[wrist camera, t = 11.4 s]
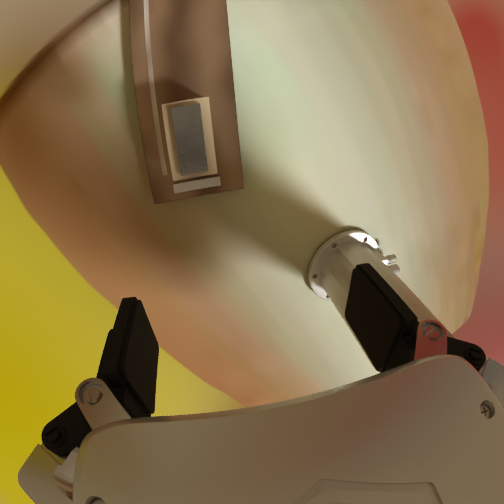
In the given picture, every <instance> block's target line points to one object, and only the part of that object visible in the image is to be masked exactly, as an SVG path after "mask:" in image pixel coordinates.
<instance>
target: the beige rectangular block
mask: <svg viewBox="0 0 504 504" xmlns="http://www.w3.org/2000/svg"><path fill="white" fill-rule="evenodd" d="M162 113H163V120H164V127H165V134H166V141H167V147H168V153H169V160H170V166H171V171H172V177H173V181H177V180H182V179H188V178H193V177H199V176H205V175H211V174H218V173H217V164H216V156H215V148H214V139H213V130H212V121H211V112H210V103H209V97H203V98H196V99H189V100H183V101H177V102H172V103H167V104H162Z"/></svg>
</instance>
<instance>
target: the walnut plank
mask: <svg viewBox="0 0 504 504" xmlns="http://www.w3.org/2000/svg"><path fill="white" fill-rule="evenodd" d="M129 13H130V38H131V53H132V66H133V76H134V85H135V94H136V102H137V109H138V116H139V123H140V130H141V136H142V142H143V148H144V153H145V159H146V164H147V169H148V174H149V179H150V184H151V189H152V193H153V198H154V202H155V204H157V203H162V202H167V201H172V200H177V199H183V198H188V197H194V196H200V195H205V194H211V193H217V192H224V191H230V190H237V189H243V178H242V167H241V156H240V146H239V135H238V124H237V114H236V103H235V92H234V81H233V70H232V59H231V48H230V37H229V26H228V15H227V4H226V0H129ZM203 97H209V103H210V112H211V121H212V130H213V139H214V148H215V156H216V164H217V173H218V174H211V175H205V176H199V177H193V178H188V179H182V180H177V181H173V177H172V171H171V166H170V160H169V153H168V147H167V141H166V134H165V127H164V120H163V113H162V104H167V103H172V102H177V101H183V100H189V99H196V98H203Z"/></svg>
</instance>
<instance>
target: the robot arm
mask: <svg viewBox="0 0 504 504" xmlns="http://www.w3.org/2000/svg"><path fill="white" fill-rule="evenodd" d="M395 262H396V256H395V255H394V254H392V255H388V256H386V257H384V256H383V255H382V254H381V253H379V248H378V245H377V243H376V241H375V240H374V239H373V238H372V237H371V236H370V235H369V234H367V233H365V232H363V231H360V230H348V231H344V232H341V233H338V234H336V235H335V236H333V237H331V238H330V239H328V240H327V241H326V242H325V243H324V244H323V245H322V246H321V247H320V248H319V249H318V250H317V252H316V253H315V254H314V256H313V258H312V260H311V262H310V265H309V269H308V282H309V284H310V287H311V288H312V290H313V292H314V293H315V294H316V295H317V296H319V297H320V298H322V299H325V300H331V301H332V302H333V304H334V305H335V307H336V308H337V310H338V311H339V313H340V315H341V316H342V318H343V319H344V321H345V322H346V324H347V326H348V327H349V329H350V330H351V332H352V333H353V335H354V337H355V338H356V340H357V341H358V343H359V345H360V346H361V348H362V349H363V351H364V353H365V354H366V356H367V357H368V359H369V361H370V362H371V364H372V365H373V366H374V368H375V369H376V370H377V371H379V372H380V373H379V374H377V375H374V376H371V377H368V378H365V379H362V380H359V381H356V382H353V383H350V384H346V385H343V386H340V387H336V388H333V389H329V390H326V391H322V392H318V393H315V394H311V395H307V396H303V397H298V398H294V399H290V400H285V401H280V402H275V403H270V404H265V405H259V406H254V407H248V408H241V409H235V410H228V411H219V412H210V413H200V414H188V415H175V416H158V417H151V414H153V413H154V411H155V393H156V378H157V365H158V354H159V346H158V342H157V340H156V337H155V335H154V332H153V330H152V327H151V325H150V322H149V320H148V317H147V315H146V312H145V310H144V307H143V304H142V302H141V300H137V298H136V297H129V298H123V299H122V301H121V304H120V307H119V310H118V314H117V317H116V320H115V324H114V327H113V329H111V330H110V331H109V333H108V336H107V340H106V343H105V346H104V350H103V354H102V358H101V361H100V365H99V369H98V373H97V377H96V378H89V379H86V380H84V381H83V382H82V383H81V384H79V386H78V387H77V389H76V392H75V399H76V402H75V403H74V404H73V405H71V406H70V407H69V408H68V409H66V410H65V411H64V412H62V413H61V414H60V415H58V416H57V417H56V418H54V419H53V420H52V421H50V422H49V423H48V424H47V425H46V426H45V427H44V429H43V431H42V442H43V443H42V444H41V445H39V444H38V445H37V446H36V447H35V449H34V450H33V452H32V453H31V454H30V456H29V457H28V459H27V460H26V462H25V463H24V465H23V466H22V468H21V469H20V471H19V473H18V481H19V484H20V486H21V488H22V489H23V490H24V491H25V492H26V494H27V495H28V496H29V497H30V498H31V499H32V500H33V501H34V502H35V504H504V366H503V365H501V364H499V363H498V362H496V361H494V360H492V359H491V358H488V359H486V356H485V354H484V351H483V350H482V349H481V348H480V347H479V346H477V345H475V344H472V343H468V342H465V341H461V340H458V339H456V338H455V337H454V336H453V335H452V334H451V333H450V332H449V331H448V330H447V329H446V328H445V327H444V326H443V324H442V323H441V322H440V321H439V320H438V319H437V318H436V317H435V316H434V315H433V314H432V313H431V311H430V310H429V309H428V308H427V307H426V306H425V305H424V304H423V303H422V302H421V301H420V299H419V298H418V297H417V296H416V295H415V294H414V293H413V292H412V291H411V290H410V289H409V288H408V287H407V286H406V285H405V284H404V283H403V281H402V280H401V279H400V278H399V277H398V276H397V275H398V274H399V272H400V269H399V266H398V265H397V264H394V265H390V266H387V264H391V263H395Z"/></svg>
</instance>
